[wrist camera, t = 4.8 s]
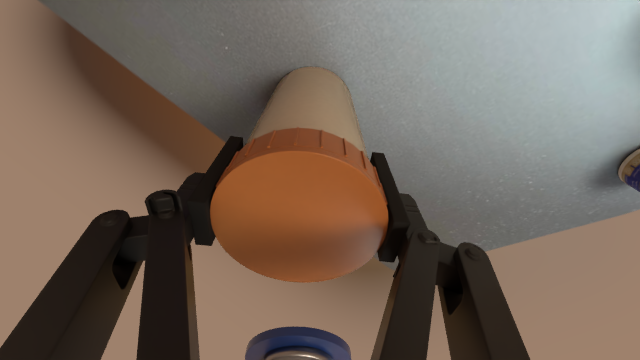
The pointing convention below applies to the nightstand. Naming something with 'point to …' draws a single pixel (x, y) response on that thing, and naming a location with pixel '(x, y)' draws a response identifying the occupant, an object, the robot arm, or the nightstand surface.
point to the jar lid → (300, 206)
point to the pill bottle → (631, 170)
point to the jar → (311, 106)
